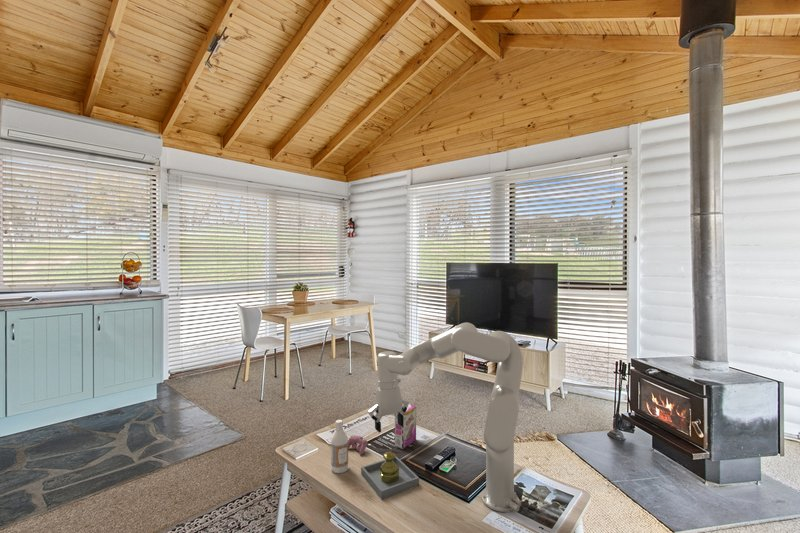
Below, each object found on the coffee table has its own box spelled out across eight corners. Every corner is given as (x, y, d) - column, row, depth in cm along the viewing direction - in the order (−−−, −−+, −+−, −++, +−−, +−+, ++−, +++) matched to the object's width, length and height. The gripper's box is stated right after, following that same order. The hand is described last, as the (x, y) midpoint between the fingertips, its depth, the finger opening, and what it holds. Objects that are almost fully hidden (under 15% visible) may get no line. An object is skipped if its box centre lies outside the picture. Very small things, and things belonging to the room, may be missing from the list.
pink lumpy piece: (366, 455, 167) (370, 438, 169) (360, 455, 163) (364, 438, 165) (348, 450, 172) (352, 433, 174) (342, 449, 168) (347, 433, 171)
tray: (419, 485, 142) (419, 477, 142) (381, 499, 134) (381, 491, 134) (396, 462, 158) (395, 455, 157) (361, 474, 150) (361, 467, 150)
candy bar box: (403, 450, 168) (403, 414, 167) (394, 446, 171) (394, 411, 170) (417, 440, 177) (416, 405, 177) (408, 437, 180) (407, 403, 179)
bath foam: (335, 476, 149) (334, 426, 148) (328, 467, 155) (327, 420, 154) (351, 470, 153) (350, 421, 152) (343, 462, 158) (343, 415, 158)
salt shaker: (376, 480, 144) (376, 455, 144) (385, 470, 151) (385, 446, 150) (394, 485, 141) (393, 459, 140) (402, 474, 148) (402, 450, 147)
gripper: (402, 377, 152) (403, 419, 153) (363, 385, 144) (365, 429, 144) (412, 382, 146) (413, 426, 146) (372, 391, 137) (373, 437, 138)
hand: (389, 427), depth 145 cm, fingers open, 9 cm apart
